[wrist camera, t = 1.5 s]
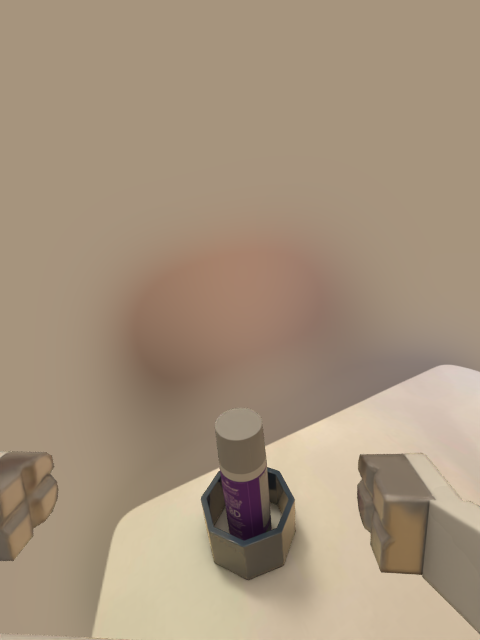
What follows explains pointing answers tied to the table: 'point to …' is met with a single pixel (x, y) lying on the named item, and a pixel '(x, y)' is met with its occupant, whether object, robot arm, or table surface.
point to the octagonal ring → (258, 550)
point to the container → (243, 472)
